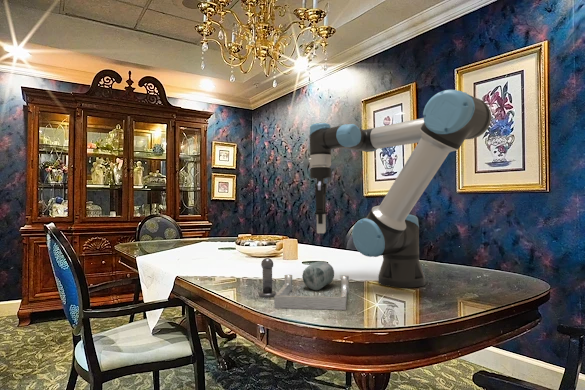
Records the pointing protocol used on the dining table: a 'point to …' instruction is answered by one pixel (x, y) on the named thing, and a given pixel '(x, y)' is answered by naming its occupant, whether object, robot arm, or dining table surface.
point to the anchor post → (267, 278)
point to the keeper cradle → (311, 298)
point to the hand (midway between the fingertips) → (321, 232)
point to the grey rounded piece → (318, 275)
